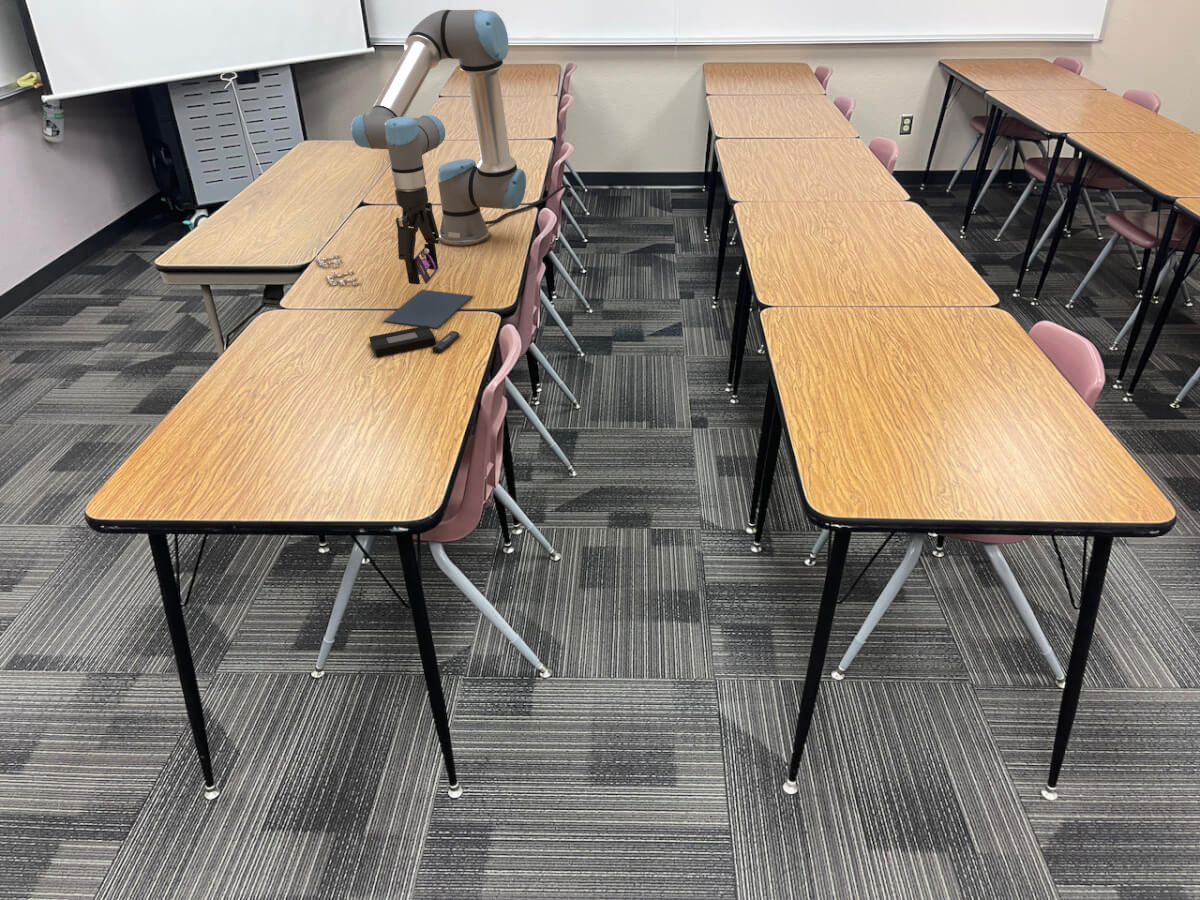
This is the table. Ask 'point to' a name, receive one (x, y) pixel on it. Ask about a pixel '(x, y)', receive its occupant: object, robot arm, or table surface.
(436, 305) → the mat
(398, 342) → the vhs tape
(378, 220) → the table surface
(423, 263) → the game card
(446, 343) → the usb stick
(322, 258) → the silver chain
